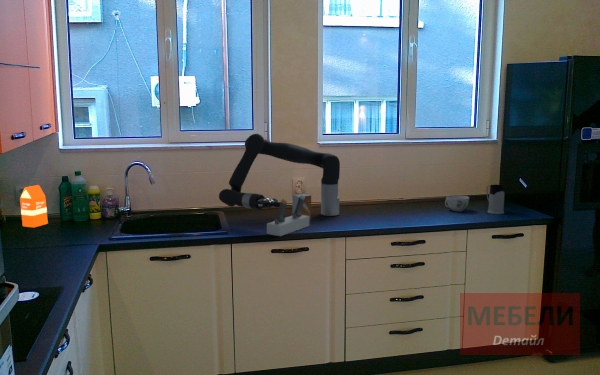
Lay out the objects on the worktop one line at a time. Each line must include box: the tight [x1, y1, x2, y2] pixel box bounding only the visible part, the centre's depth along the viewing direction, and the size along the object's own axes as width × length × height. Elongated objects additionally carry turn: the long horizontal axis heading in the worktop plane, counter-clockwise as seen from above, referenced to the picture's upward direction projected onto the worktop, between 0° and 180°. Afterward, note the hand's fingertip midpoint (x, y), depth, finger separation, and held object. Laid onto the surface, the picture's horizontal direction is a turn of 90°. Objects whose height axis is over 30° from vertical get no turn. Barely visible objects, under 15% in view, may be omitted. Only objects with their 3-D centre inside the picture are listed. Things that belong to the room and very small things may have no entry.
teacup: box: [444, 194, 471, 212], centre depth 294 cm, size 15×12×8 cm
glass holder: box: [485, 184, 506, 215], centre depth 292 cm, size 9×14×15 cm, turn 14°
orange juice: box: [19, 184, 49, 228], centre depth 263 cm, size 8×9×20 cm
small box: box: [291, 193, 312, 221], centre depth 274 cm, size 8×6×13 cm
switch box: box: [266, 212, 310, 237], centre depth 253 cm, size 8×24×7 cm, turn 145°
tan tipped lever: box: [276, 198, 288, 222], centre depth 245 cm, size 3×4×12 cm
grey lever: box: [294, 195, 305, 217], centre depth 256 cm, size 3×4×12 cm
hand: (281, 205), depth 245 cm, fingers closed
